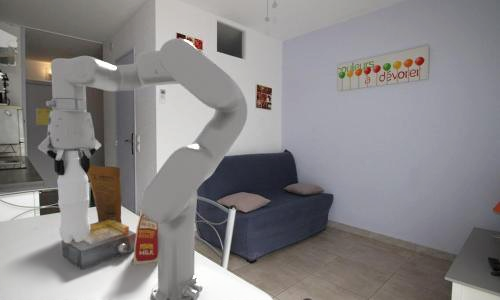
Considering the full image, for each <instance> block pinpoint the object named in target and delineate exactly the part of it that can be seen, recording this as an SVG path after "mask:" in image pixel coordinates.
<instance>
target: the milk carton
mask: <svg viewBox="0 0 500 300" xmlns="http://www.w3.org/2000/svg"><path fill="white" fill-rule="evenodd" d="M141 202H142V199H141ZM140 210H141V211H140V215H139V219H138V222H137V226H136V231H135V233H136V238H135V245H134V250H133V265H140V264H149V263H158V223H154V222H152V221H150V220H148V219H147V218H146V217H145V215H144V213H143V211H142V208H141V209H140Z"/></svg>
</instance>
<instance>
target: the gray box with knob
mask: <svg viewBox="0 0 500 300" xmlns="http://www.w3.org/2000/svg"><path fill="white" fill-rule="evenodd" d="M135 238H136V232H134V231H132V230H130V226H128V225H126V224H124V223H119V222H117V221H115V220H109V219H108V220H104V221H100V222H98V221H97V222H94V223H90V233H89V236H88V237H87V238H84V240H82V241H80V242H75V240H74V238H73V239H72V241H71V242H70V243H65V242H64V241H63V240H62V239H61V244H62V245H61V246H62V248H61V249H62V257H64V258H65V259H66V260H68V261H70V262H71V263H72V264H73V265H75V266H76V267H77V268H79V270H85V269H87V268H88V269H89V268H90V267H93V266H96V265H98V264H101V263H104V262H106V261H109V260H111V259H114V258H117V257H120V256H122V255H125V254H127V253H130V252H134V245H135Z"/></svg>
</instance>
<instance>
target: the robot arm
mask: <svg viewBox="0 0 500 300" xmlns="http://www.w3.org/2000/svg"><path fill="white" fill-rule="evenodd" d="M50 71H51V72H50V73H51V87H52V88H51V90H52V98H51V100H46V103H45V104H46V107H51V111H50V112H49V115H48V122H47V136H46V138H44V139H43V140H42V141H41V143H40V144H39V145H38V146H37V149H38V150H40V152H43V153H44V154H46V155H47V156H48V157H49V158H51V159H52V160H53V162H54V163H53V164H54V166H53V167H54V172H55V173H56V175H58V176H59V175H64V166H65V160H63V159H62V157H63V153H64V150H75V149H79V151H80V153H81V157H80V165H81V167H82V168H83V170H84V171H85V173H87V172H89V170H88V169H90V165H91V164H90V163H91V161H90V159H91V158H92V156H93V155H94V153H96V151H97V150H99V149H100V148H101V147H102V144H101V142H99V141H98V140H97V139H96V137H95V128H94V123H93V119H92V115H91V112H88V111H87V110H88V109H87V90H86V88H87V87H89V88H94V89H99V90H102V91H105V92H106V91H107V92H126V91H127V92H128V91H136V90H141V89H146V88H147V87H154V86H165V85H180V86H182V87H183V88H184V89H186V90H187V91H188V92H189V93H190V94H192V95H193V96H194V97H195V99H197V100H198V101H200V102H201V103H202V104H203V105H205V106H206V107H208V108H210V109H214V110H215V112H214V114H213V116H212V117H211V119H210V120H209V121H208V122H207V123H206V124H205V125H204V127H203V129H202V130H201V132H200V133H199V134H198V136H197V137H196V138H195V139H194V141H193V142H192V143H191V144H188V145H183V146H180V147H179V148H177V149H176V150H174V152H172V154H170V155H169V156H168V157H167V159H166V160H165V162H164V163H163V164H162V166H161V167H160V169H159V170H158V172H156V174H155V176H154V177H153V179H152V180H151V181H150V183H149V184H148V186H147V188H146V189H145V190H144V192H143V195H142V196H141V197H142V198H141V200H142V202H141V203H140V205H141V209H142V211H143V213H144V215H145V217H146V218H147V219H148V220H150V221H152V222H154V223H158V262H157V282H156V283H155V284H154V285H153V286H152V289H151V296H152V298H153V300H198V299H199V296H200V292H202V291H203V286H201V282H200V280H199V279H198V275H197V276H196V275H195V246H196V245H195V241H196V240H195V239H196V238H195V234H196V233H195V231H196V226H195V225H196V213H197V212H196V211H197V205H198V190H199V188H200V187H201V186H202V184H203V183H204V182H205V181H206V180H208V179H210V177H211V176H213V174H214V173H215V171H216V169H217V168H218V166H220V163H221V162H222V161H223V159H224V158H225V157H226V155H227V153H228V152H230V150H231V148H232V146H233V145H234V144H235V142H236V141H237V139H238V138H239V136H240V134H241V133H242V131H243V130H244V127H245V125H246V123H247V118H248V104H247V100H246V98H245V95H244V92H243V91H242V89H241V87H240V86H239V84H238V83H237V82H236V81H235V80H234V79H233V78H232V77H231V76H230V75H229V74H228V73H227V72H226V71H225V70H223V69H222V67H220V66H218V65H217V64H215V62H213V61H212V60H211V59H210V58H208V57H207V56H206V55H205V54H204V53H202V52H201V51H200V49H198V48H197V47H195V45H193V43H192V42H190V41H189V40H186V39H183V38H179V37H178V38H177V37H176V38H172V39H169V40H167V41H166V42H164V43H163V45H161V47H160V48H159V50H150V51H141V52H139V54H138V55H137V56H136V58H135V62H134V63H129V64H111V63H110V62H106V61H103V60H101V59H99V58H96V57H93V56H89V55H81V56H75V57H71V58H60V57H59V58H55V59H53V60H52V61H51V63H50ZM48 147H49V148H48ZM50 148H51V149H54V150H51V149H50Z"/></svg>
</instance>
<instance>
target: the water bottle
mask: <svg viewBox="0 0 500 300" xmlns="http://www.w3.org/2000/svg"><path fill="white" fill-rule="evenodd" d="M80 160H81V157H80V156H79V150H65V155H64V160H63V161H64V175H58V176H57V177H58V178H57V182H56V183H57V192H58V193H57V194H58V200H57V203H58V207H59V208H58V209H59V211H60V226H59V235H60V236H59V237H60V238H61V241H62V240H63V241H64V242H65V243H70V242H71V241H72V239H73V238H74V240H75V242H80V241H82V240H84V238H87V237H88V236H89V233H90V224H91V221H90V219H89V202H90V196H89V176H88V173H87V172H85V171H84V170H83V168H82V167H81V162H80Z"/></svg>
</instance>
